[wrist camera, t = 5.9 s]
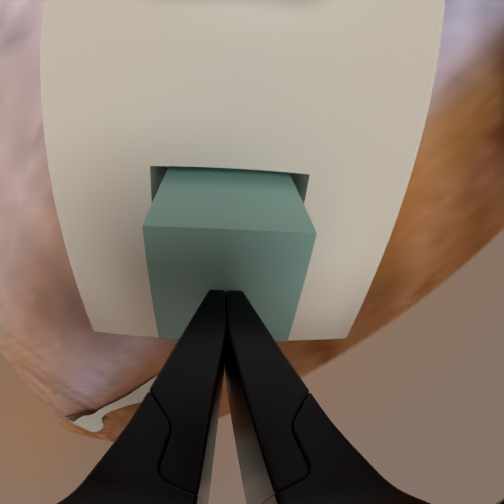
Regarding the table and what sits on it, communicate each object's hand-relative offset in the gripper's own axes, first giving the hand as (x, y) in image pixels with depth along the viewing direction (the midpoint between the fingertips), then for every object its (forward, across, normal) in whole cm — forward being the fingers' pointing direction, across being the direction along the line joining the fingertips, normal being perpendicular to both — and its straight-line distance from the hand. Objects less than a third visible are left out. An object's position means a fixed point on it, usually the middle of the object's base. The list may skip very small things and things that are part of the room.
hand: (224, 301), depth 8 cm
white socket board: (+6, 0, -6) cm, 9 cm away
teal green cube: (+4, 0, 0) cm, 4 cm away
